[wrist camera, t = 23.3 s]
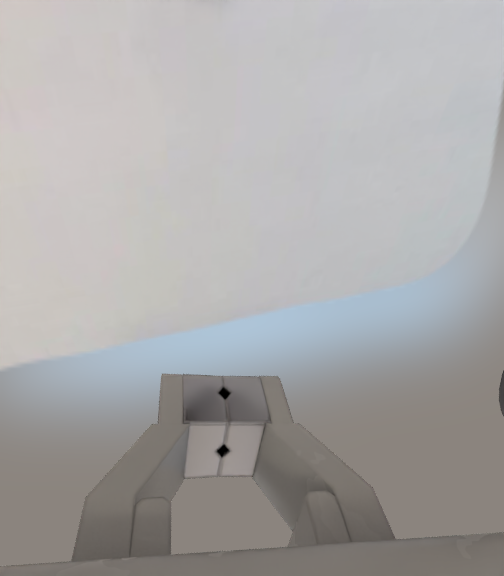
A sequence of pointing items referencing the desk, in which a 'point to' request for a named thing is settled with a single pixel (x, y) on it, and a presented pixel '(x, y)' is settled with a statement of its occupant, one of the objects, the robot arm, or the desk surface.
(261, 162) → the desk surface
